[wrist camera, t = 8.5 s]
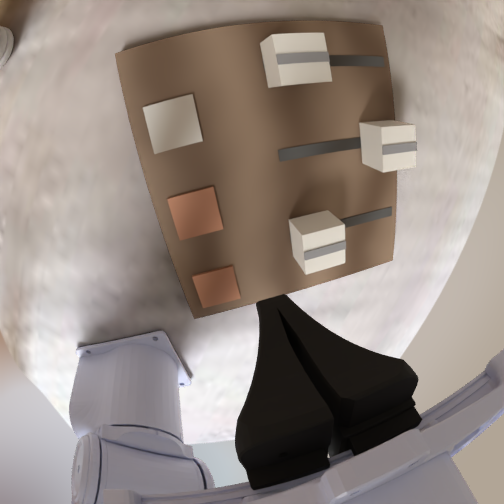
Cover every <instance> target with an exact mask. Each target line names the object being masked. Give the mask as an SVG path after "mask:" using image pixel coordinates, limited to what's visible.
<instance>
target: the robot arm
mask: <svg viewBox="0 0 504 504" xmlns="http://www.w3.org/2000/svg"><path fill="white" fill-rule="evenodd" d="M256 307H257V311H258V316H259V347H258V356H257V362H256V367H255V371H254V376H253V380H252V383H251V386H250V389H249V392H248V395H247V398H246V401H245V404H244V406H243V408H242V410H241V413H240V415H239V417H238V420H237V427H236V435H235V447H236V452H237V455H238V459H239V461H240V463H241V464H242V465H243V467H244V468H245V469H246V472H247V476H248V480H249V482H245V483H240V484H235V485H230V486H224V487H218V488H215V484H214V480H213V477H212V475H211V473H210V471H209V469H208V467H207V466H206V464H205V463H204V462H203V461H202V460H200V459H198V458H195V457H194V456H193V449H192V446H189V445H186V444H184V442H183V432H182V422H181V410H180V397H179V387H184V386H189V385H191V379H190V377H189V375H188V374H187V372H186V370H185V368H184V366H183V365H182V363H181V361H180V359H179V357H178V355H177V354H176V352H175V350H174V348H173V346H172V344H171V342H170V340H169V338H168V336H167V335H166V333H165V332H164V331H156V332H152V333H147V334H143V335H138V336H134V337H129V338H124V339H119V340H115V341H110V342H105V343H100V344H95V345H89V346H84V347H79V348H77V349H76V354H77V355H78V357H79V358H80V359H79V363H78V367H77V372H76V376H75V380H74V385H73V389H72V394H71V399H70V405H69V414H70V421H71V425H72V428H73V430H74V432H75V434H76V436H77V437H78V439H79V441H78V444H77V447H76V450H75V455H74V461H73V468H72V482H71V484H72V504H478V502H477V500H476V499H475V497H474V495H473V493H472V492H471V490H470V488H469V487H468V485H467V483H466V481H465V480H464V478H463V476H462V475H461V473H460V471H459V470H458V468H457V466H456V465H455V463H454V461H453V460H452V458H451V457H452V456H454V455H455V454H456V453H458V452H459V451H460V450H462V449H463V448H464V447H465V446H467V445H468V444H469V443H471V442H472V441H473V440H474V439H475V438H477V437H478V436H479V435H480V434H481V433H482V432H484V430H486V429H487V428H488V427H489V426H490V425H491V424H493V422H495V421H496V420H497V419H498V418H499V417H500V416H501V415H502V414H503V413H504V349H503V350H502V351H500V353H498V354H497V355H496V356H494V357H493V358H492V359H491V360H490V362H489V363H488V364H487V366H486V368H485V371H483V372H482V373H481V374H479V375H478V376H477V377H476V378H474V379H473V380H472V381H470V382H469V383H467V384H466V385H465V386H464V387H462V388H460V389H459V390H458V391H456V392H455V393H453V394H452V395H451V396H449V397H447V398H446V399H444V400H443V401H441V402H440V403H438V404H437V405H435V406H433V407H432V408H430V409H429V410H427V411H425V412H424V413H422V414H420V415H419V414H418V412H417V411H416V409H415V407H414V406H415V401H414V400H413V399H412V395H413V393H414V391H415V388H416V386H417V383H418V376H417V375H416V373H415V372H414V371H413V369H412V368H411V367H410V366H409V365H408V364H407V363H406V362H405V361H404V360H402V359H398V358H394V357H389V356H385V355H382V354H379V353H376V352H373V351H370V350H368V349H365V348H363V347H360V346H358V345H355V344H353V343H351V342H349V341H347V340H345V339H344V338H342V337H340V336H338V335H336V334H335V333H333V332H331V331H330V330H328V329H327V328H325V327H324V326H322V325H321V324H320V323H318V322H317V321H315V320H314V319H313V318H312V317H310V316H309V315H308V314H307V313H305V312H304V311H303V310H302V309H301V308H300V307H298V306H297V305H296V304H295V303H294V302H293V301H292V300H291V299H290V298H289V297H288V296H287V295H285V294H282V295H278V296H275V297H271V298H268V299H264V300H261V301H258V302H257V303H256ZM154 337H157V338H154ZM88 350H89V351H88ZM328 453H329V456H330V458H328V457H327V456H328Z"/></svg>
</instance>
